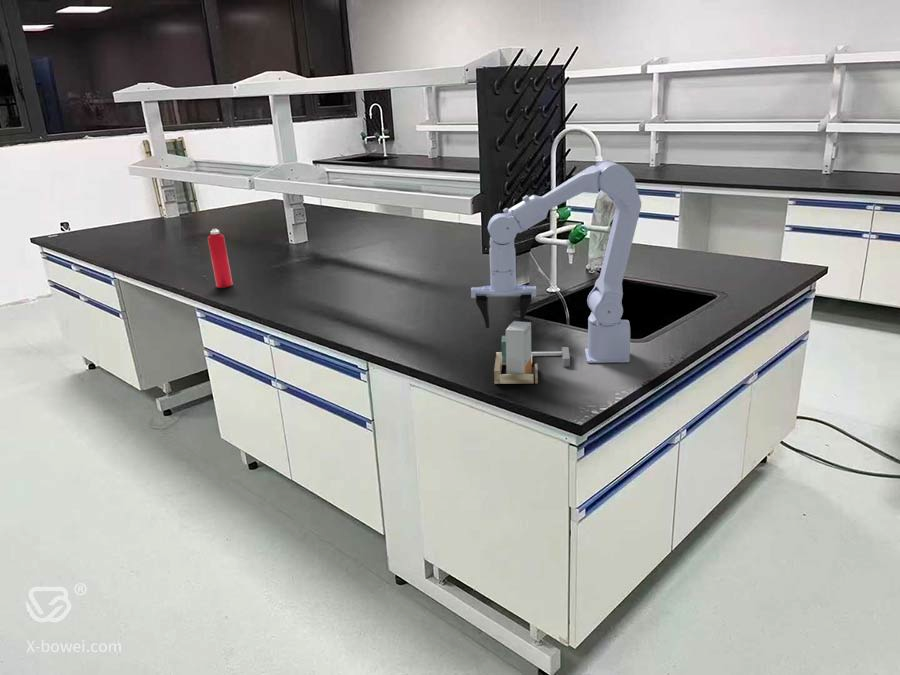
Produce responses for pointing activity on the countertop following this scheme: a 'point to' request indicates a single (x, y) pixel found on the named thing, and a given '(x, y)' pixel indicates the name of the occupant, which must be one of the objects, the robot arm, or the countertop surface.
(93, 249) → the countertop surface
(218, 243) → the bottle
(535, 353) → the rail
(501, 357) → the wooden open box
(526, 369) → the skincare box
